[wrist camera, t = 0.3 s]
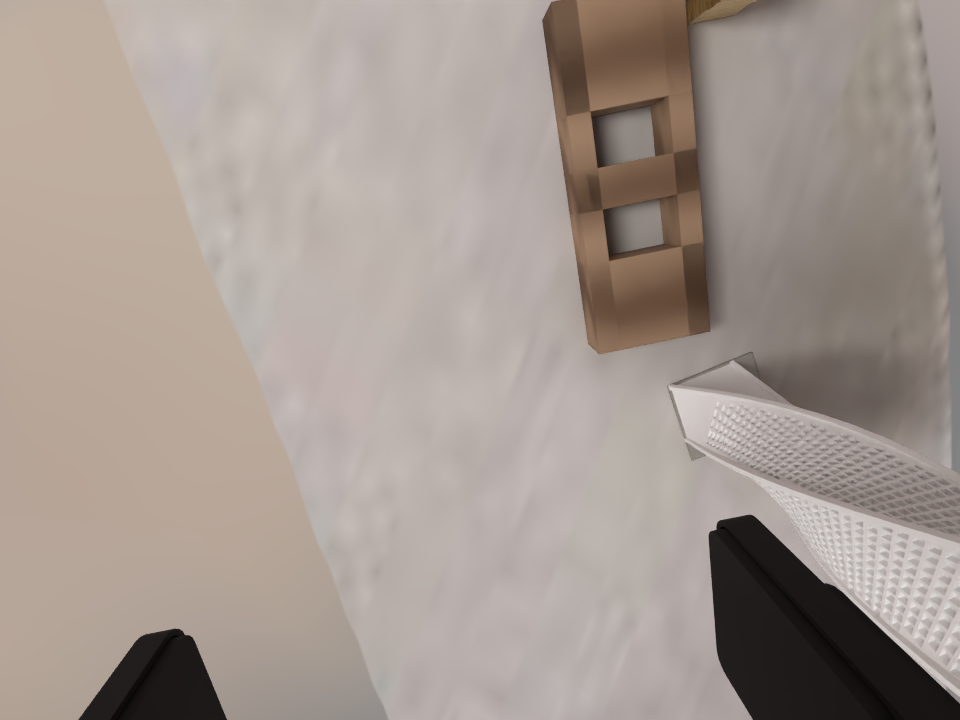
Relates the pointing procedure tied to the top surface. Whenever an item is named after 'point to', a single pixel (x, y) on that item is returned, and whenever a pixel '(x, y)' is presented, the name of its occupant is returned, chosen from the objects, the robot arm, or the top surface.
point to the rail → (630, 165)
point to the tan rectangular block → (713, 9)
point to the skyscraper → (844, 503)
